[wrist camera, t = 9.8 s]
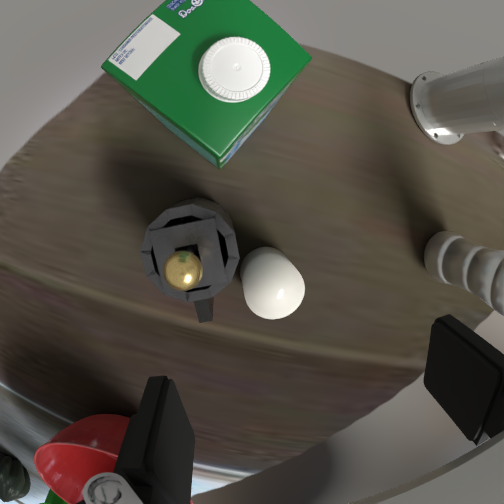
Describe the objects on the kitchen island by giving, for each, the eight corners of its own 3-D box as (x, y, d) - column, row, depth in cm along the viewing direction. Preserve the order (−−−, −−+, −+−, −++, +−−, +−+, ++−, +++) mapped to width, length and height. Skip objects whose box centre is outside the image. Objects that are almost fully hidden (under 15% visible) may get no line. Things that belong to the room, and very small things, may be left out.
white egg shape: (286, 242, 43) (300, 256, 35) (293, 289, 44) (307, 312, 37) (235, 252, 42) (239, 268, 34) (245, 299, 44) (250, 324, 36)
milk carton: (220, 170, 39) (219, 156, 15) (167, 128, 37) (98, 65, 13) (264, 119, 38) (324, 43, 14) (212, 78, 36) (206, -34, 12)
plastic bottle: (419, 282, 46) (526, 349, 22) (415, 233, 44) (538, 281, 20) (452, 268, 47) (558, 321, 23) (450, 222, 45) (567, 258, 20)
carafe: (226, 191, 40) (228, 197, 28) (242, 278, 43) (251, 318, 31) (156, 206, 40) (129, 218, 27) (176, 291, 43) (161, 334, 30)
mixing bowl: (86, 468, 51) (70, 516, 36) (42, 376, 44) (6, 427, 29) (204, 480, 53) (204, 536, 38) (187, 388, 47) (180, 458, 32)
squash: (-19, 444, 41) (-27, 487, 32) (27, 472, 45) (20, 515, 36) (-2, 442, 52) (-10, 480, 43) (39, 466, 56) (31, 504, 47)
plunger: (215, 208, 38) (211, 229, 22) (224, 255, 40) (227, 305, 24) (168, 218, 38) (133, 246, 22) (178, 263, 39) (153, 318, 23)
